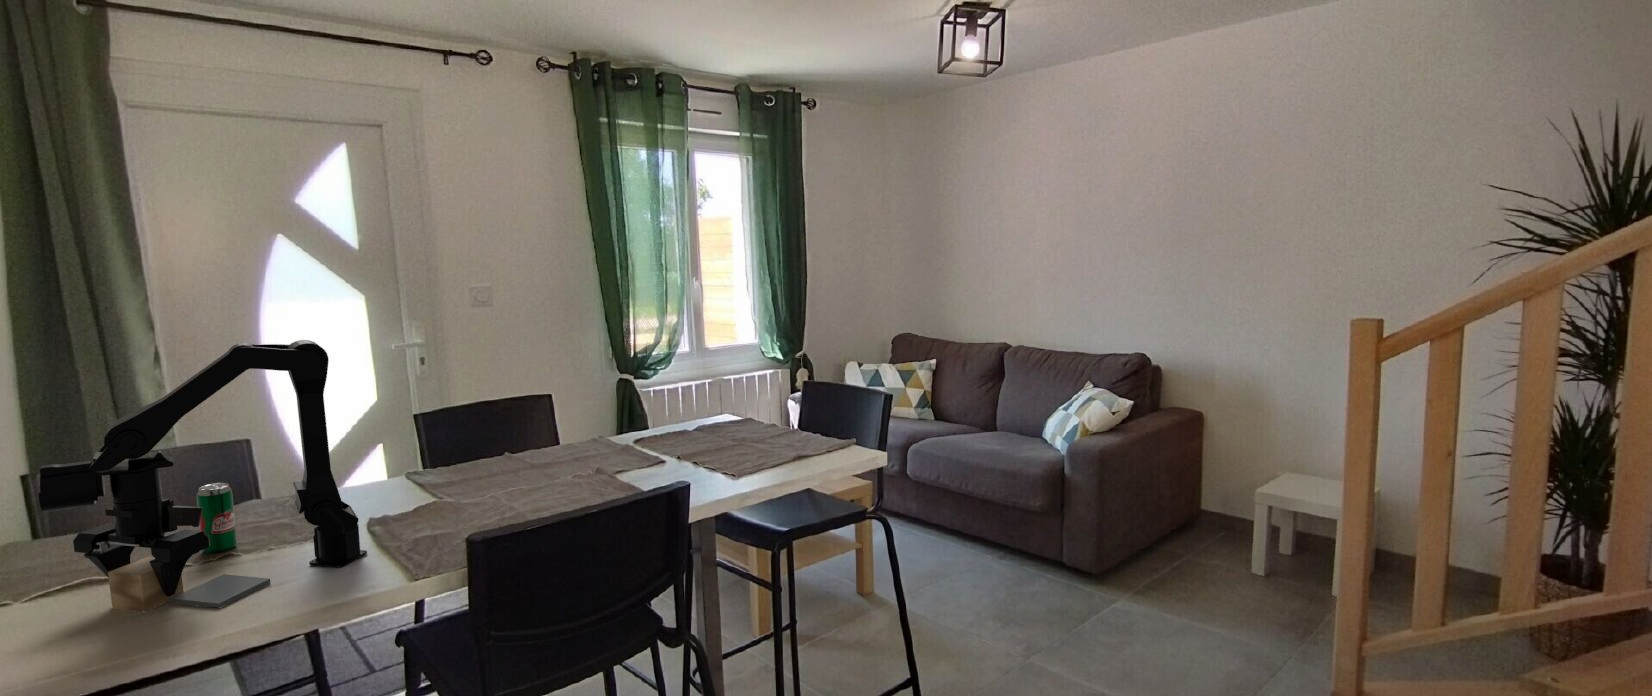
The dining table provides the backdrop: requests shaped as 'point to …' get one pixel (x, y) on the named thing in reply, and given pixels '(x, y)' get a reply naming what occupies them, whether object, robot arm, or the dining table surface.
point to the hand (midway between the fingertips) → (148, 593)
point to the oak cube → (138, 587)
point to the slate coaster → (220, 591)
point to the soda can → (217, 516)
